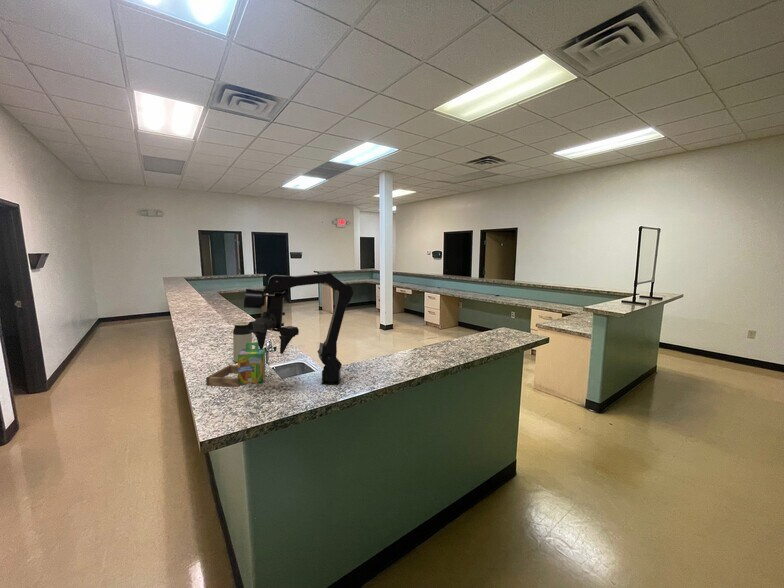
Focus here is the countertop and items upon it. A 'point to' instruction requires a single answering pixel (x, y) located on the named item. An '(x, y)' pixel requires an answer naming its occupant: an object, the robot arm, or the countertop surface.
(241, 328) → the travel mug
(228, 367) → the block
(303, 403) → the countertop surface
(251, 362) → the chalk box
